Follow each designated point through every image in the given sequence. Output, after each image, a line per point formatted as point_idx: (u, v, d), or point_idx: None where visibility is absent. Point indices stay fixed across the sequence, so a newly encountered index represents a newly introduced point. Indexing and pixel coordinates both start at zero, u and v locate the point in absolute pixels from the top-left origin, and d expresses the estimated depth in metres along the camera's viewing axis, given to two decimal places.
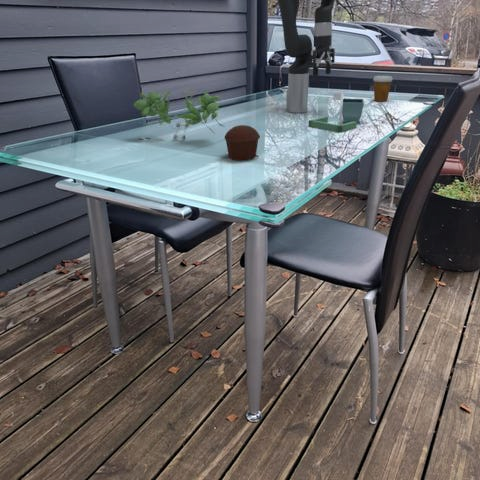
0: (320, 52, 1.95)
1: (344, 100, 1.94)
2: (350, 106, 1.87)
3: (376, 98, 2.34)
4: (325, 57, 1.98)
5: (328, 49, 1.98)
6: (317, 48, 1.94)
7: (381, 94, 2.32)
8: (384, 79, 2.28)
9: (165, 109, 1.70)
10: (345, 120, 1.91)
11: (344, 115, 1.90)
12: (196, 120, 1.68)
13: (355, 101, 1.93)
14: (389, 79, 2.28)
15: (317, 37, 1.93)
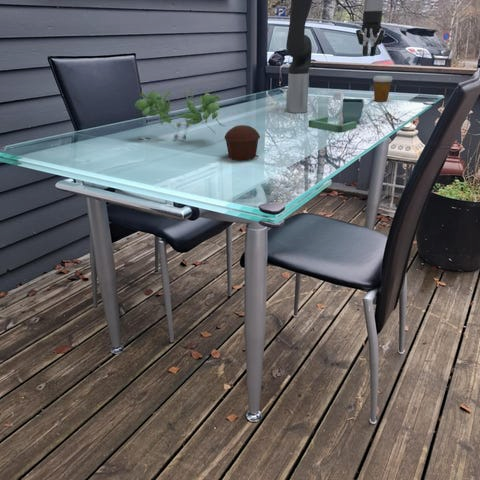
0: None
1: (344, 100, 1.94)
2: (350, 106, 1.87)
3: (376, 98, 2.34)
4: None
5: None
6: (380, 24, 1.85)
7: (381, 94, 2.32)
8: (384, 79, 2.28)
9: (166, 109, 1.71)
10: (345, 120, 1.91)
11: (344, 115, 1.90)
12: (197, 120, 1.68)
13: (355, 101, 1.93)
14: (389, 79, 2.28)
15: (381, 12, 1.83)
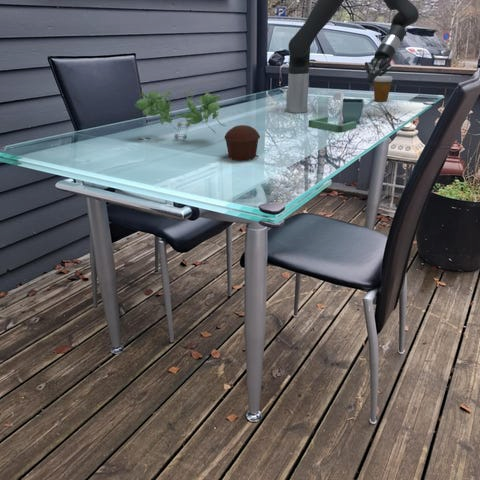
0: None
1: (344, 100, 1.94)
2: (350, 106, 1.87)
3: (376, 98, 2.34)
4: None
5: None
6: (390, 60, 1.92)
7: (381, 94, 2.32)
8: (384, 79, 2.28)
9: (166, 109, 1.71)
10: (345, 120, 1.91)
11: (344, 115, 1.90)
12: (197, 120, 1.69)
13: (355, 101, 1.93)
14: (389, 79, 2.28)
15: (394, 51, 1.92)
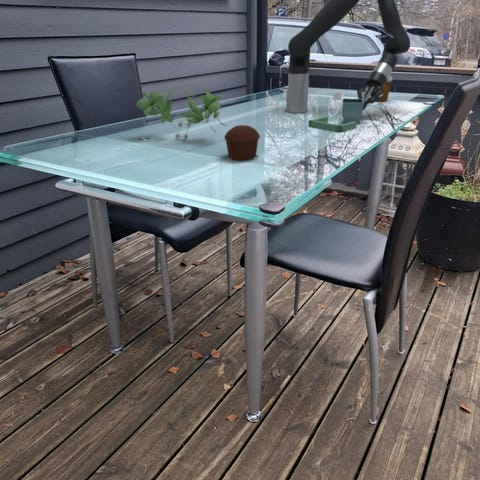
0: None
1: (344, 100, 1.94)
2: (350, 106, 1.87)
3: None
4: None
5: None
6: (381, 87, 1.94)
7: None
8: None
9: (167, 108, 1.72)
10: (345, 120, 1.91)
11: (344, 115, 1.89)
12: (198, 119, 1.69)
13: (355, 101, 1.93)
14: (389, 79, 2.28)
15: (386, 79, 1.95)
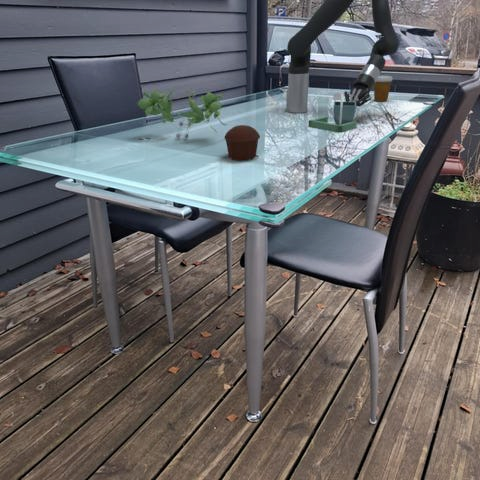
0: None
1: (336, 103, 1.88)
2: (342, 110, 1.81)
3: (376, 98, 2.34)
4: None
5: None
6: (369, 90, 1.89)
7: (381, 94, 2.32)
8: (384, 79, 2.28)
9: (168, 108, 1.72)
10: (337, 124, 1.85)
11: (336, 118, 1.84)
12: (199, 119, 1.70)
13: (347, 104, 1.88)
14: (389, 79, 2.28)
15: (374, 81, 1.89)
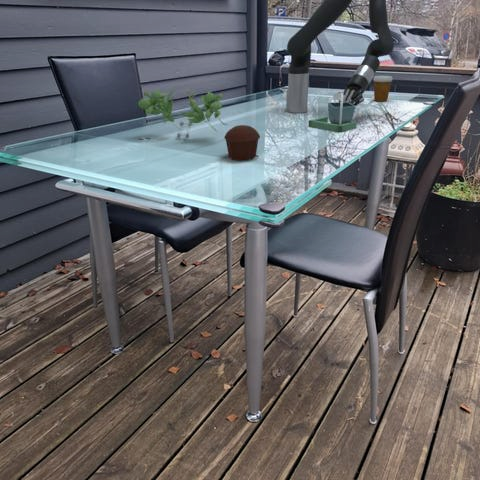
0: None
1: (330, 104, 1.85)
2: (342, 111, 1.79)
3: (376, 98, 2.34)
4: None
5: None
6: (362, 91, 1.88)
7: (381, 94, 2.32)
8: (384, 79, 2.28)
9: (169, 108, 1.73)
10: None
11: (335, 120, 1.81)
12: (199, 119, 1.70)
13: None
14: (389, 79, 2.28)
15: (367, 82, 1.88)
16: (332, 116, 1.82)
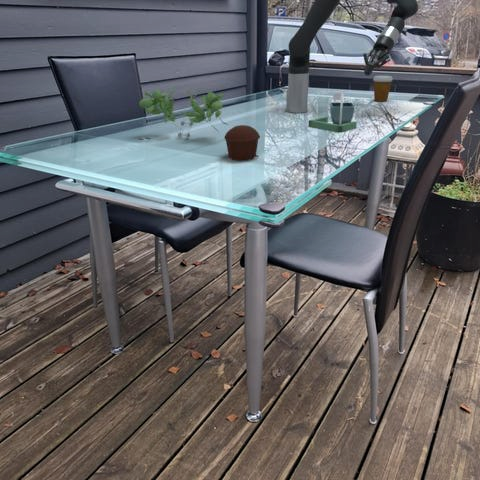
0: None
1: (332, 104, 1.87)
2: None
3: (376, 98, 2.34)
4: None
5: None
6: (388, 51, 1.91)
7: (381, 94, 2.32)
8: (384, 79, 2.28)
9: (170, 107, 1.73)
10: None
11: (334, 120, 1.82)
12: (200, 118, 1.71)
13: (344, 105, 1.87)
14: (389, 79, 2.28)
15: (393, 43, 1.91)
16: (331, 116, 1.83)
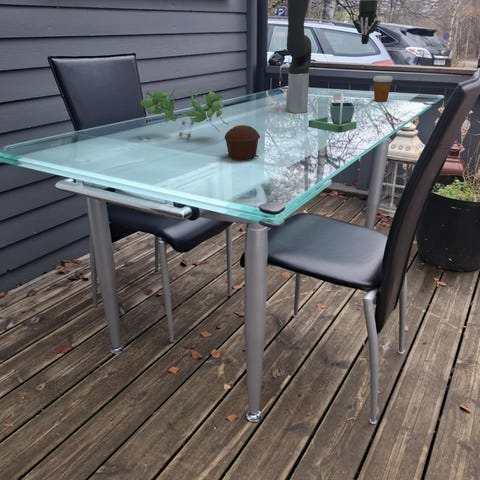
0: None
1: (332, 104, 1.87)
2: None
3: (376, 98, 2.34)
4: None
5: None
6: (375, 13, 1.93)
7: (381, 94, 2.32)
8: (384, 79, 2.28)
9: (171, 107, 1.74)
10: None
11: (334, 120, 1.82)
12: (201, 118, 1.71)
13: (344, 105, 1.87)
14: (389, 79, 2.28)
15: (376, 1, 1.91)
16: (331, 116, 1.83)
